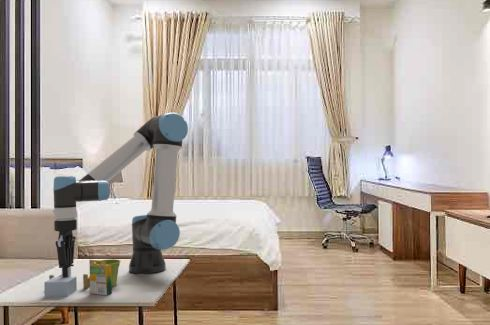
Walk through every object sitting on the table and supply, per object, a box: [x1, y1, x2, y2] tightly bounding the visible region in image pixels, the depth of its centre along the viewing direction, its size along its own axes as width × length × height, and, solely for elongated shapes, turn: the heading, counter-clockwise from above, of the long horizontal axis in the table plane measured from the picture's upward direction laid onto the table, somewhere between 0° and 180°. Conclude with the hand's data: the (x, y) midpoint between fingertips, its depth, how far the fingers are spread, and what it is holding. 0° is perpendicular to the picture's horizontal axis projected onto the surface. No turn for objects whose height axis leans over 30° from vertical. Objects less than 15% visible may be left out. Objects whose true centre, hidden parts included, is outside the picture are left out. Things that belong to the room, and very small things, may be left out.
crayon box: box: [88, 259, 113, 296], centre depth 168 cm, size 7×3×12 cm, turn 65°
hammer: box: [48, 273, 90, 290], centre depth 183 cm, size 14×14×5 cm
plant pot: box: [94, 258, 122, 287], centre depth 180 cm, size 9×9×9 cm
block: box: [43, 276, 78, 298], centre depth 170 cm, size 8×8×5 cm
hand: (66, 285), depth 175 cm, fingers closed
